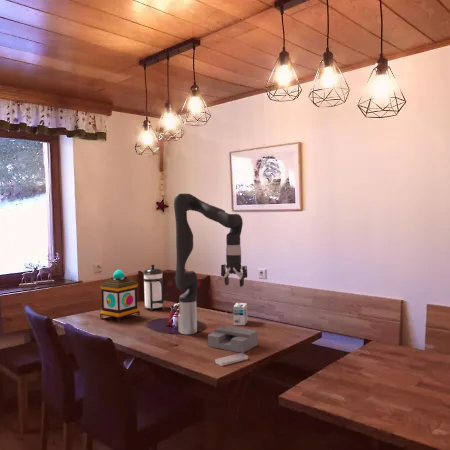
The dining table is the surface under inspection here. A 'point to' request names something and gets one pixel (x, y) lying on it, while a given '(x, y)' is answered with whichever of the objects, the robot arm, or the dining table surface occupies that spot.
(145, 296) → the coffee press
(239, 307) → the light bulb box
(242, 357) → the pale flat bar
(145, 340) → the dining table surface
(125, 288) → the decorative lantern
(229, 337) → the slot box
